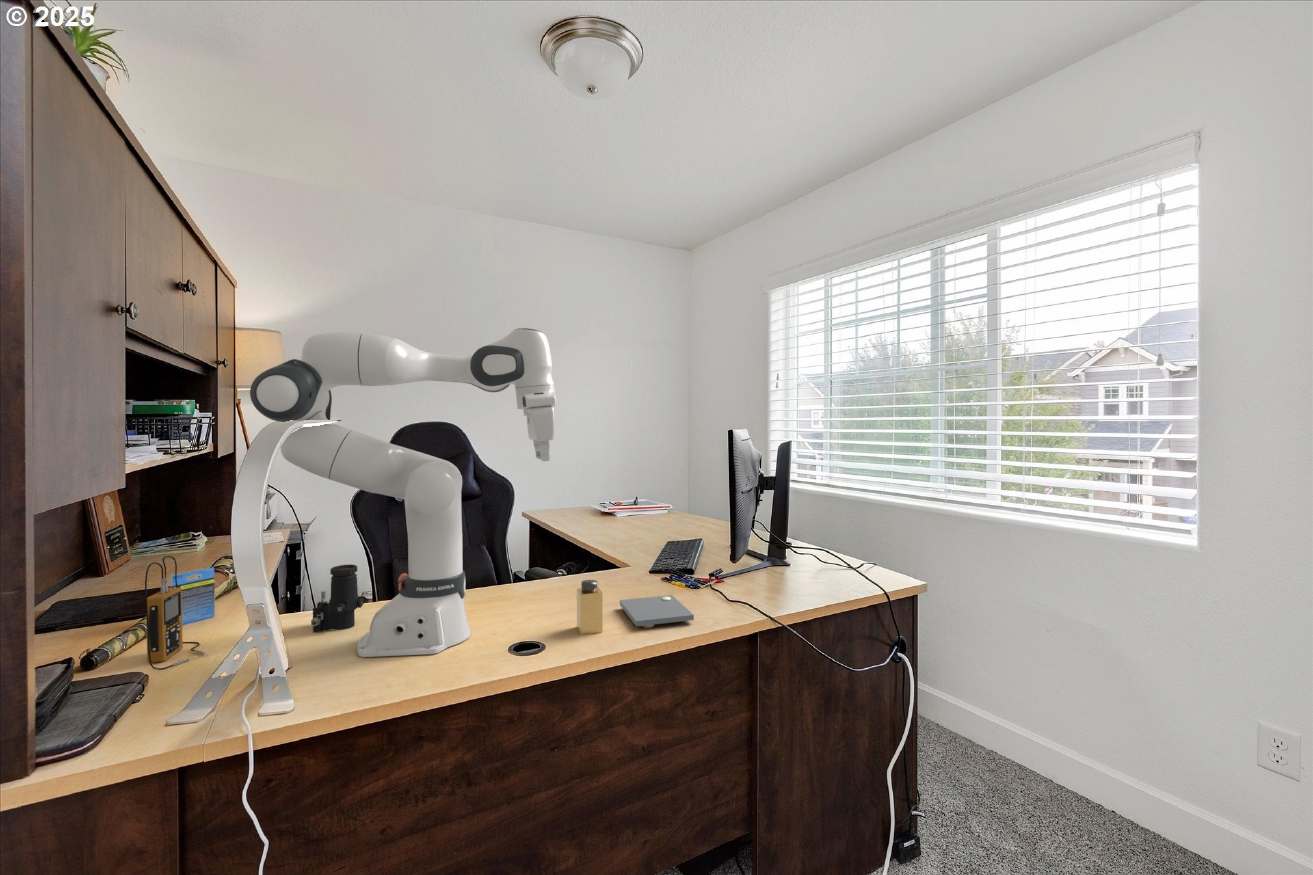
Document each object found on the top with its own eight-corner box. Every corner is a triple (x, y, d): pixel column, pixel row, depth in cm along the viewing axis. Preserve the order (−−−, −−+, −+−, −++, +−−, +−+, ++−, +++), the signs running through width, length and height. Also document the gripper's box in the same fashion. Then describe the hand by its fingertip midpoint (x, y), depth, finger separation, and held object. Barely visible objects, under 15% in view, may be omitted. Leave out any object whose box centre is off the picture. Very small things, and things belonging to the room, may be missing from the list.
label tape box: (207, 614, 138) (206, 564, 138) (216, 616, 136) (215, 566, 136) (163, 625, 130) (162, 573, 130) (172, 628, 128) (170, 575, 128)
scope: (319, 564, 132) (366, 561, 134) (320, 622, 132) (367, 618, 135) (308, 573, 124) (358, 570, 126) (309, 635, 124) (359, 630, 127)
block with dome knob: (580, 634, 124) (580, 585, 124) (576, 626, 129) (576, 579, 129) (602, 632, 126) (602, 583, 126) (598, 624, 131) (597, 578, 130)
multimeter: (198, 666, 108) (196, 563, 108) (135, 672, 105) (132, 567, 105) (231, 638, 122) (230, 547, 122) (177, 643, 120) (175, 550, 119)
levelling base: (636, 630, 127) (636, 619, 127) (619, 608, 142) (619, 598, 142) (693, 624, 131) (693, 613, 131) (671, 603, 146) (671, 593, 146)
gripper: (518, 402, 137) (524, 458, 137) (526, 399, 117) (533, 464, 118) (544, 400, 139) (550, 455, 139) (556, 396, 119) (563, 460, 120)
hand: (542, 459), depth 129 cm, fingers open, 8 cm apart
